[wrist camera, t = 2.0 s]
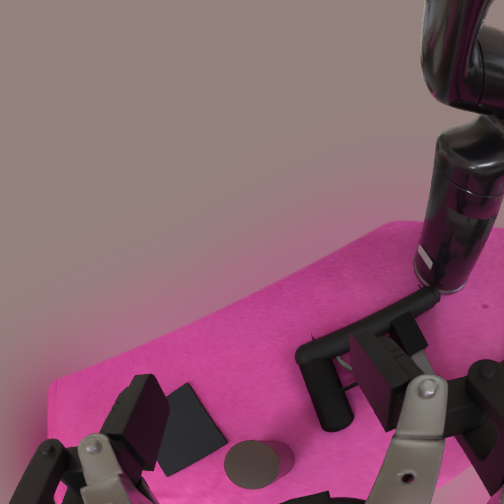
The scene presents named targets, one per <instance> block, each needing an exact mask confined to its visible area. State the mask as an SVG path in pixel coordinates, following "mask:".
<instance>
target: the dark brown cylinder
mask: <svg viewBox="0 0 504 504" xmlns="http://www.w3.org/2000/svg"><path fill="white" fill-rule="evenodd" d="M293 465H294V454H293V452H292V450H291V449H290V448H289V447H288V446H287V445H285V444H283V443H280V442H272V441H256V440H248V441H243V442H240V443H238V444H236V445H235V446H233V447H232V448H231V449H230V450H229V451H228V453H227V455H226V457H225V461H224V467H225V472H226V474H227V476H228V477H229V479H230V480H231V481H232V482H233V483H234V484H236V485H238V486H239V487H242V488H245V489H260V488H263V487H266V486H268V485H269V484H271V483H273V482H274V481H276V480H278V479H279V478H281V477H283V476H284V475H286V474H287V473H288V472H289V471H290V470H291V469H292V467H293Z"/></svg>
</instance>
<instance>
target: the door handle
mask: <svg viewBox="0 0 504 504" xmlns="http://www.w3.org/2000/svg"><path fill="white" fill-rule="evenodd" d="M418 285H419V284H418ZM419 287H420V288H421V286H420V285H419ZM439 301H440V292H439V290H438V288H437V287H436V286H435V285H430V286H427V287H423V288H421V289H420V290H418V291H416V292H414V293H412V294H411V295H409V296H407V297H405V298H403V299H401V300H399V301H398V302H396V303H394V304H392V305H390V306H388V307H386V308H384V309H382V310H380V311H378V312H376V313H374V314H372V315H370V316H368V317H366V318H363V319H361V320H359V321H357V322H355V323H353V324H351V325H348V326H346V327H344V328H342V329H339V330H337V331H335V332H333V333H330V334H328V335H325V336H323V337H321V338H318V339H316V340H314V338H312V339H313V341H311V342H308V343H306V344H303V345H301V346H300V347H299V348H298V349H297V350H296V353H295V360H296V363H297V364H298V365H299V367H300V370H301V373H302V375H303V378H304V381H305V383H306V386H307V389H308V392H309V394H310V397H311V400H312V403H313V405H314V408H315V411H316V413H317V416H318V419H319V422H320V424H321V427H322V429H323V430H324V431H327V432H337V431H340V430H343V429H345V428H346V427H348V426H349V425H350V424H351V423H352V421H353V419H354V414H353V412H352V409H351V407H350V404H349V401H348V399H347V396H346V394H345V392H344V391H346V390H349V389H351V388H353V387H355V386H357V385H359V384H358V383H357V382H355V383H353V384H351V385H349V386H346V387H344V388H343V387H342V384H341V382H340V379H339V377H338V374H337V372H336V369H335V367H334V365H333V362H332V360H331V359H334V358H336V360H337V361H338V363H339V364H340V365H341V366H342V367H344V368H345V369H347V370H348V371H350V372H352V368H351V365H349V364H348V363H346V362H345V361H344V360H342V359H341V357H340V356H341V355H343V354H345V353H347V352H350V343H349V335H350V333H353V332H356V331H359V330H362V329H365V328H369V329H370V330H371V331H372V333H373V334H374V335H375V336H376V337H379V336H382V335H385V334H387V333H389V335H390V337H391V339H392V340H394V341H395V342H396V343H397V344H398V346H399V347H400V348H401V349H402V350H403V351H404V352H405V354H407V355H408V356H409V357H410V358H411V359H412V360H413V361H414V362H415V364H416V365H417V366H418V367H419V368H420V369H421V370H422V371H423V372H424V373H425V374H435V373H434V371H433V369H432V367H431V365H430V363H429V361H428V359H427V357H426V355H425V353H424V351H423V350H424V349H425V348H426V347H427V346H428V344H427V342H426V340H425V338H424V336H423V334H422V332H421V330H420V329H419V327H418V325H417V323H416V321H415V320H414V318H416V317H418V316H419V315H421V314H423V313H424V312H426V311H428V310H429V309H431V308H433V307H434V306H435V304H436V303H438V302H439ZM311 334H312V333H311ZM311 337H313V336H311ZM352 373H353V372H352Z"/></svg>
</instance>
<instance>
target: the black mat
mask: <svg viewBox="0 0 504 504" xmlns="http://www.w3.org/2000/svg"><path fill="white" fill-rule="evenodd" d="M166 398H167V400H168V402H169V407H170V413H169V417H168V421H167V424H166V428H165V431H164V435H163V438H162V442H161V446H160V449H159V453H158V457H157V461H158V463H159V465H160V466H161V468H162V470H163V472H164V473H165V475H166V476H170V475H172V474H174V473H176V472H178V471H180V470H182V469H184V468H186V467H188V466H190V465H191V464H193V463H195V462H197V461H199V460H200V459H202V458H204V457H205V456H207V455H209V454H211V453H212V452H214V451H216V450H217V449H219V448H220V447H222V446H224V445H225V444H227V443H228V442H227V440H226V439H225V438H224V436H223V435H222V433H221V432H220V431H219V429H218V428H217V426H216V425H215V423H214V422H213V420H212V419H211V417H210V416H209V415H208V413H207V412H206V410H205V408H204V407H203V405H202V404H201V402H200V401H199V399H198V398H197V396H196V394H195V393H194V391H193V390H192V388H191V386H190V385H189V383H186V384H184V385H183V386H181V387H180V388H178V389H177V390H176V391H174V392H173V393H171V394H170V395H168V396H167V397H166Z"/></svg>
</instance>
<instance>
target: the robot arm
mask: <svg viewBox="0 0 504 504" xmlns="http://www.w3.org/2000/svg"><path fill="white" fill-rule="evenodd" d="M494 1H495V0H425V3H424V11H423V20H422V31H421V45H420V48H421V66H422V73H423V77H424V81H425V83H426V86H427V88H428V90H429V91H430V93H431V95H432V96H433V97H434V98H435V99H436V100H437V101H439V102H440V103H442V104H444V105H447V106H449V107H453V108H456V109H459V110H463V111H469V112H473V113H478V114H479V115H478V116H477V117H476V118H475V119H473V120H471V121H470V122H468V123H465V124H462V125H459V126H455V127H451V128H448V129H446V130H444V131H443V132H442V133H441V134H440V135H439V136H438V139H437V142H436V148H435V160H434V168H433V176H432V182H431V189H430V195H429V200H428V205H427V210H426V215H425V220H424V224H423V228H422V233H421V237H420V240H419V244H418V248H417V251H416V254H415V257H414V263H413V265H414V271H415V274H416V276H417V278H418V279H419V281H420V282H421V283H422V284H423V285H424V286H425V287H427V286H430V285H435V286H436V287H437V288H438V290H439V292H440V294H443V295H448V294H453V293H456V292H458V291H459V290H461V289H462V288H463V287H464V285H465V284H466V282H467V280H468V277H469V275H470V273H471V271H472V269H473V268H474V266H475V264H476V262H477V260H478V258H479V256H480V254H481V252H482V250H483V248H484V245H485V243H486V241H487V239H488V237H489V234H490V232H491V230H492V227H493V225H494V222H495V219H496V217H497V214H498V212H499V209H500V206H501V203H502V201H503V198H504V31H503V30H500V29H498V28H495V27H492V26H489V25H486V24H483V22H484V20H485V17H486V15H487V13H488V11H489V9H490V7H491V5H492V4H493V2H494ZM349 343H350V358H351V368H352V372H353V375H354V377H355V379H356V381H357V383H358V384H359V386H360V388H361V389H362V391H363V393H364V395H365V396H366V398H367V400H368V402H369V403H370V405H371V407H372V409H373V410H374V412H375V414H376V416H377V417H378V419H379V421H380V423H381V425H382V426H383V428H384V430H385V432H388V431H391V430H393V429H396V431H395V434H394V435H393V437H392V439H391V442H390V445H389V448H388V450H387V453H386V456H385V459H384V461H383V464H382V466H381V469H380V471H379V474H378V476H377V478H376V481H375V483H374V485H373V487H372V490H371V492H370V494H369V496H368V498H367V500H362V499H357V498H348V497H336V498H330V494H329V491H325V492H321V493H317V494H313V495H309V496H304V497H300V498H295V499H290V500H288V501H285V502H283V503H280V504H430V503H431V501H432V497H433V494H434V491H435V487H436V483H437V479H438V475H439V471H440V467H441V462H442V458H443V452H444V447H445V438H447V437H451V436H454V437H455V438H456V440H457V441H458V443H459V444H460V446H461V447H462V449H463V451H464V452H465V454H466V455H467V457H468V459H469V460H470V462H471V464H472V465H473V467H474V468H475V470H476V472H477V474H478V475H479V477H480V479H481V480H482V482H483V484H484V486H485V487H486V489H487V491H488V493H489V494H490V496H491V498H490V499H489V501H488V503H487V504H504V368H503V367H502V366H501V365H500V364H499V363H497V362H496V361H493V360H489V359H483V360H479V361H477V362H475V363H473V364H472V365H471V367H470V368H469V371H468V375H467V376H464V377H461V378H457V379H453V380H449V381H445V379H443V378H442V377H440V376H438V375H435V374H425V373H424V372H423V371H422V370H421V369H420V368H419V367H418V366H417V365H416V364H415V362H414V361H413V360H412V359H411V358H410V357H409V356H408V355H407V354H405V352H404V351H403V350H402V349H401V348H400V347H399V346H398V344H397V343H396V342H395V341H394V340H392V339H390V338H388V337H385V336H383V335H382V336H379V337H376V336H375V335H374V334H373V333H372V331H371V330H370V329H369V328H365V329H362V330H359V331H356V332H353V333H350V335H349ZM169 413H170V407H169V402H168V400H167V398H166V396H165V394H164V392H163V391H162V389H161V387H160V385H159V383H158V381H157V379H156V377H155V376H154V375H153V374H143V375H135V376H134V378H133V380H132V381H131V383H130V385H129V387H126V388H125V389H124V390H123V391H122V392H121V393H120V394H119V396H118V397H117V399H116V401H115V404H114V405H113V407H112V411H110V413H109V414H108V416H107V418H106V420H105V422H104V424H103V426H102V428H101V430H100V432H99V433H93V434H90V435H88V436H86V437H84V438H83V439H82V440H81V441H80V443H79V445H78V446H77V447H69V448H65V447H64V446H63V444H62V443H61V442H60V441H59V440H57V439H48V440H46V441H44V442H42V443H41V444H40V445H39V447H38V449H37V450H36V452H35V454H34V456H33V458H32V459H31V461H30V463H29V465H28V467H27V468H26V470H25V472H24V474H23V476H22V478H21V480H20V482H19V484H18V486H17V488H16V490H15V492H14V494H13V496H12V498H11V500H10V503H9V504H55V502H54V498H53V497H54V494H55V491H56V489H57V486H58V484H59V482H60V480H61V481H62V482H63V483H64V484H65V485H66V486H67V487H68V488H67V491H66V493H65V496H64V499H63V501H62V504H159V502H158V501H157V499H156V498H155V496H154V494H153V493H152V491H151V490H150V488H149V486H148V485H147V483H146V481H145V479H144V478H143V477H142V476H141V474H142V470H145V471H154V468H155V464H156V461H157V457H158V453H159V449H160V446H161V442H162V438H163V435H164V431H165V428H166V424H167V421H168V417H169Z"/></svg>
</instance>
